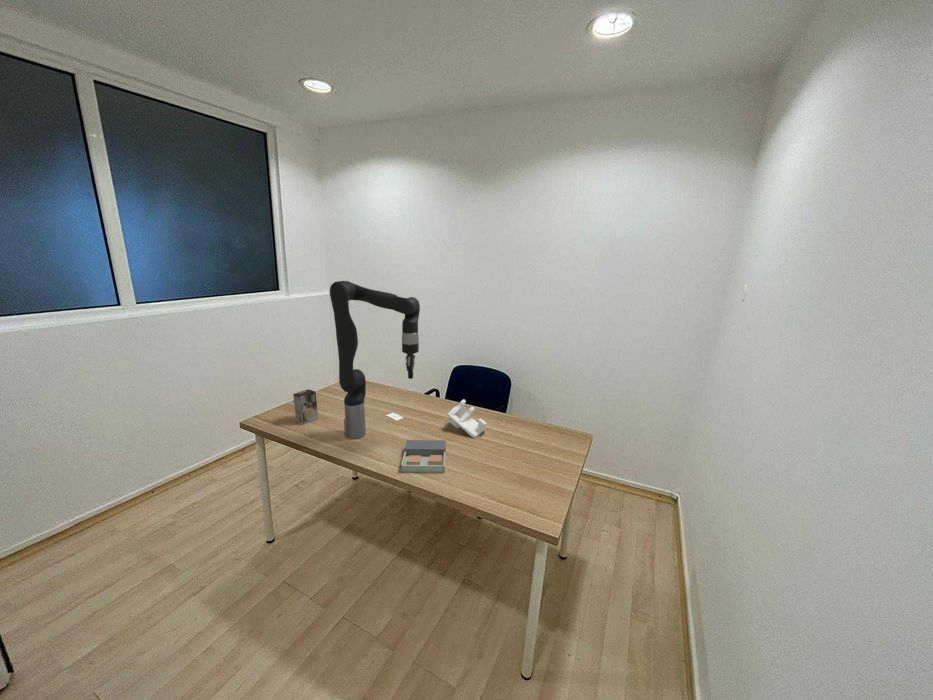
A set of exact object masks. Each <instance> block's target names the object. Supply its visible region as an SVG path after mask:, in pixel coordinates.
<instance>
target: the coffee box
mask: <svg viewBox="0 0 933 700" xmlns="http://www.w3.org/2000/svg"><path fill="white" fill-rule="evenodd" d="M316 393H317V392H316V391H315V390H312V389H309V388H308V389H305V390H302V391H299V392H296V393H292V395H293V404H294V412H295V414H294V415H295V421H298V422H300V423H302V424H304V425H306V424H305V423H307V422H309V423H311V422H314V421H316V420H318V419H319V413H318V402H317V394H316ZM313 420H314V421H313ZM310 421H311V422H310ZM298 422H297V423H298ZM300 423H299V424H300ZM302 424H301V425H302ZM307 424H308V423H307Z"/></svg>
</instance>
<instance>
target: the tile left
mask: <svg viewBox="0 0 933 700" xmlns="http://www.w3.org/2000/svg"><path fill="white" fill-rule="evenodd" d="M420 463H421V455H409V459H408V465H420Z"/></svg>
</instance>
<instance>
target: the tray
mask: <svg viewBox="0 0 933 700" xmlns="http://www.w3.org/2000/svg"><path fill="white" fill-rule="evenodd" d="M408 459H409V456H406V451H405V450H404V453H403V457H402V460H401V464H400V472H401V473H439V474H440V473H442V474H443V473H445V469H446V452H444V457H442V464H441V465H430V457H428V456H421V463H420V465H408Z"/></svg>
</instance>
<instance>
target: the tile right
mask: <svg viewBox="0 0 933 700" xmlns="http://www.w3.org/2000/svg"><path fill="white" fill-rule="evenodd" d="M441 464H442V455H430V465H441Z"/></svg>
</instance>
